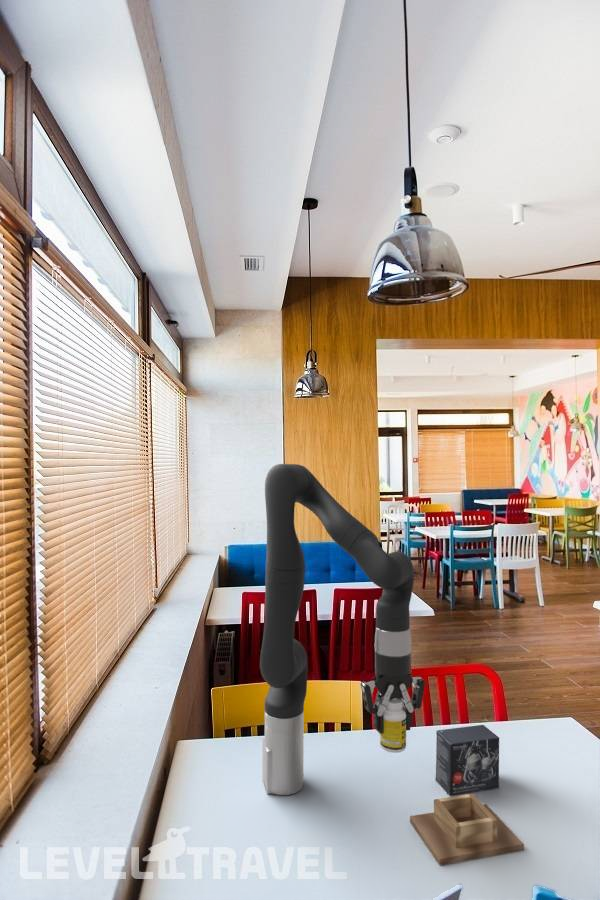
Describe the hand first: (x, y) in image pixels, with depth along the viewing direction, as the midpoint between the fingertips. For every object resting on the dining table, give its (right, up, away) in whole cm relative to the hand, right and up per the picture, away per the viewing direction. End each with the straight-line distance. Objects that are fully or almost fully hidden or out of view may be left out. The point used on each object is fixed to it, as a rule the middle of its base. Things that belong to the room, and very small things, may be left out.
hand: (393, 729), depth 116 cm
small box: (+20, -20, +14) cm, 32 cm away
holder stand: (+14, -20, -4) cm, 24 cm away
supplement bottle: (0, -4, 0) cm, 4 cm away
